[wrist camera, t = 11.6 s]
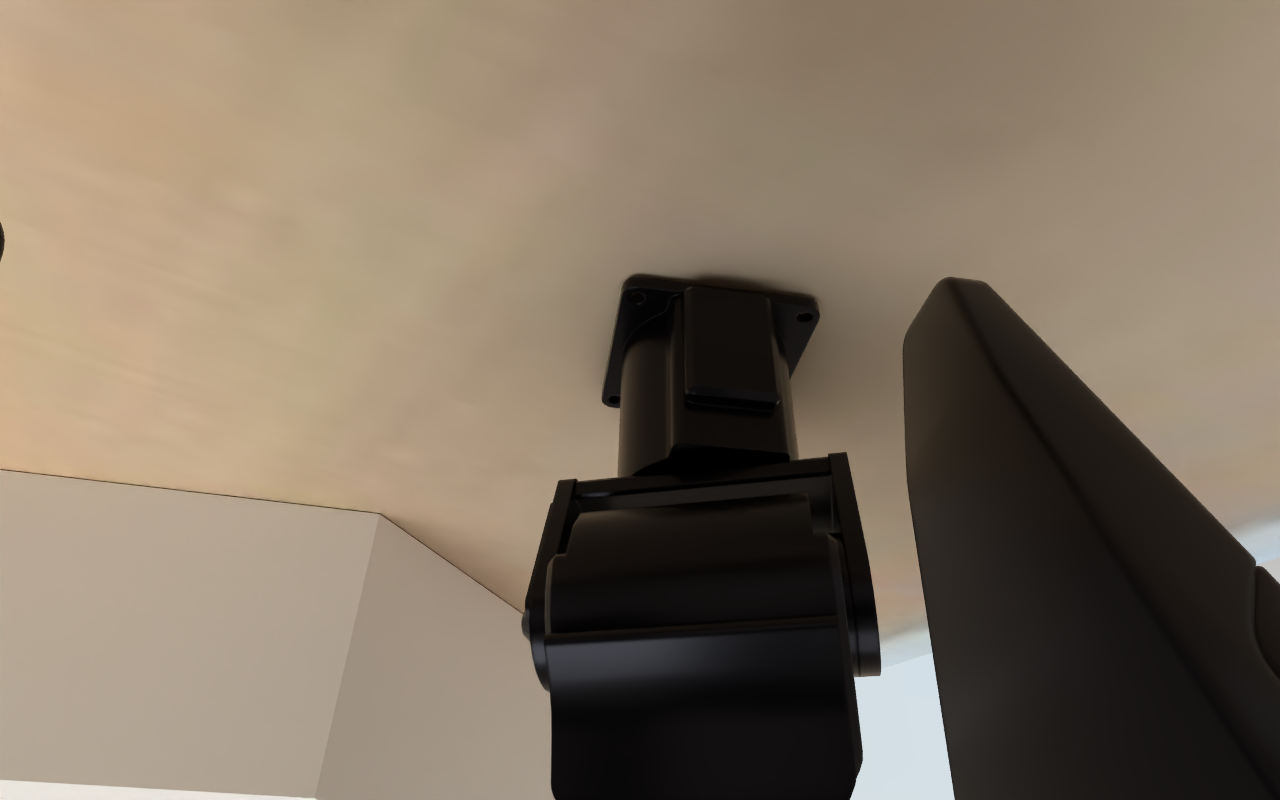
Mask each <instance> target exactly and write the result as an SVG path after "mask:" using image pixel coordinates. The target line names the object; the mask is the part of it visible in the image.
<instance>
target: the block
mask: <svg viewBox="0 0 1280 800" xmlns="http://www.w3.org/2000/svg"><path fill="white" fill-rule="evenodd" d="M522 616H523V614H522V613H520V612H519V611H517V610H516V609H514V608H513V607H512V606H510V605H509V604H507V603H506V602H504V601H503V600H502V599H500V598H499V597H497V596H496V595H494V594H493V593H492V592H490V591H489V590H487V589H486V588H484V587H483V586H482V585H480V584H479V583H477V582H476V581H475V580H473V579H472V578H470V577H469V576H467V575H466V574H465V573H463V572H462V571H460V570H459V569H457V568H456V567H455V566H453V565H452V564H450V563H449V562H447V561H446V560H445V559H443V558H442V557H440V556H439V555H437V554H436V553H435V552H433V551H432V550H430V549H429V548H427V547H426V546H425V545H423V544H422V543H420V542H419V541H417V540H416V539H415V538H413V537H412V536H410V535H409V534H407V533H406V532H405V531H403V530H402V529H400V528H399V527H397V526H396V525H395V524H393V523H392V522H390V521H389V520H387V519H386V518H385V517H383V516H382V515H380V514H376V513H367V512H358V511H350V510H341V509H333V508H324V507H315V506H307V505H298V504H289V503H281V502H272V501H264V500H255V499H246V498H238V497H229V496H220V495H212V494H203V493H195V492H186V491H177V490H169V489H160V488H152V487H143V486H134V485H126V484H117V483H108V482H100V481H91V480H83V479H74V478H65V477H57V476H48V475H39V474H31V473H22V472H14V471H5V470H0V800H555V798H554V796H553V794H552V790H551V703H550V693H549V692H548V691H546V690H545V689H544V688H543V686H542V685H541V683H540V681H539V679H538V676H537V674H536V671H535V667H534V662H533V658H532V652H531V645H530V641H529V640H528V639H527V638H526V637H525V636H524V635H523V633H522V627H521V621H522Z"/></svg>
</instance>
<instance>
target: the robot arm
mask: <svg viewBox="0 0 1280 800" xmlns="http://www.w3.org/2000/svg"><path fill="white" fill-rule="evenodd" d="M4 241H5V239H4V231H3V228H2V225H1V223H0V261H1V258H2V255H3V250H4ZM635 292H639V293H642V294H633V293H635ZM802 312H807V313H804V314H800V313H802ZM819 317H820V312H819V306H818V304H817V302H816V301H815V300H813V299H810V298H804V297H796V296H787V295H779V294H771V293H762V292H754V291H745V290H737V289H729V288H720V287H712V286H704V285H695V284H687V283H678V282H670V281H662V280H653V279H645V278H632V279H629V280H627V281H626V282H624V284H623V286H622V289H621V294H620V299H619V305H618V310H617V315H616V320H615V326H614V331H613V336H612V341H611V346H610V352H609V357H608V362H607V367H606V373H605V378H604V383H603V388H602V402H603V403H604V404H605V405H607V406H609V407H613V408H620V425H619V453H618V477H617V478H607V479H597V480H587V481H578V480H577V479H568V480H559V481H558V485H557V488H556V492H555V496H554V500H553V503H551V505H550V508H549V512H548V515H547V519H546V523H545V527H544V531H543V534H542V538H541V542H540V546H539V550H538V553H537V557H536V561H535V565H534V569H533V573H532V576H531V580H530V584H529V588H528V592H527V595H526V600H525V612H524V614H523V616H522V621H521V627H522V633H523V635H524V636H525V637H526V638H527V639H528V640H529V641H530V645H531V652H532V658H533V662H534V667H535V671H536V674H537V676H538V679H539V681H540V683H541V685H542V686H543V688H544V689H545V690H546V691H548V692H549V693H550V703H551V790H552V794H553V796H554V798H555V800H850V798H851V795H852V792H853V789H854V787H855V783H856V778H857V775H858V773H859V771H860V768H861V764H862V761H863V756H862V755H863V750H862V741H861V733H860V724H859V716H858V707H857V699H856V690H855V682H854V677H858V676H859V677H866V676H880V674H881V655H880V642H879V632H878V623H877V614H876V606H875V598H874V591H873V585H872V578H871V572H870V566H869V560H868V555H867V550H866V545H865V540H864V535H863V530H862V525H861V520H860V516H859V511H858V506H857V501H856V496H855V491H854V486H853V481H852V477H851V472H850V467H849V462H848V457H847V452H842V453H831V454H828V457H822V458H811V459H801V460H799V454H798V446H797V438H796V429H795V421H794V412H793V404H792V396H791V387H790V378H791V376H792V374H793V372H794V370H795V368H796V366H797V364H798V362H799V360H800V358H801V355H802V353H803V351H804V349H805V347H806V345H807V343H808V341H809V339H810V337H811V335H812V333H813V331H814V329H815V327H816V325H817V323H818V321H819ZM903 382H904V416H905V450H906V472H907V485H908V493H909V501H910V508H911V514H912V521H913V527H914V534H915V540H916V547H917V554H918V560H919V567H920V573H921V580H922V587H923V593H924V600H925V606H926V613H927V619H928V626H929V633H930V639H931V646H932V652H933V659H934V665H935V672H936V679H937V685H938V692H939V698H940V705H941V712H942V718H943V725H944V731H945V738H946V744H947V751H948V758H949V764H950V771H951V777H952V783H953V790H954V797H955V800H1280V584H1279V583H1278V582H1277V581H1276V580H1275V579H1274V578H1273V577H1272V576H1271V575H1270V574H1269V572H1268V571H1267V570H1266V569H1265V568H1263V567H1261V566H1256V561H1255V559H1254V557H1253V556H1252V555H1251V554H1250V553H1249V552H1248V551H1247V550H1246V549H1245V548H1244V547H1243V546H1242V545H1241V544H1240V543H1239V542H1238V541H1237V540H1236V539H1235V538H1234V537H1233V536H1232V535H1231V534H1230V533H1229V532H1228V531H1227V530H1226V529H1225V528H1224V526H1223V525H1222V524H1221V523H1220V522H1219V521H1218V520H1217V519H1216V518H1215V517H1214V516H1213V515H1212V514H1211V513H1210V512H1209V511H1208V510H1207V509H1206V508H1205V507H1204V506H1203V505H1202V504H1201V503H1200V502H1199V501H1198V500H1197V499H1196V498H1195V497H1194V496H1193V495H1192V494H1191V493H1190V492H1189V490H1188V489H1187V488H1186V487H1185V486H1184V485H1183V484H1182V483H1181V482H1180V481H1179V480H1178V479H1177V478H1176V477H1175V476H1174V475H1173V474H1172V473H1171V472H1170V471H1169V470H1168V469H1167V468H1166V467H1165V466H1164V465H1163V464H1162V463H1161V462H1160V461H1159V460H1158V459H1157V458H1156V457H1155V455H1154V454H1153V453H1152V452H1151V451H1150V450H1149V449H1148V448H1147V447H1146V446H1145V445H1144V444H1143V443H1142V442H1141V441H1140V440H1139V439H1138V438H1137V437H1136V436H1135V435H1134V434H1133V433H1132V432H1131V431H1130V430H1129V429H1128V428H1127V427H1126V426H1125V425H1124V424H1123V423H1122V422H1121V421H1120V419H1119V418H1118V417H1117V416H1116V415H1115V414H1114V413H1113V412H1112V411H1111V410H1110V409H1109V408H1108V407H1107V406H1106V405H1105V404H1104V403H1103V402H1102V401H1101V400H1100V399H1099V398H1098V397H1097V396H1096V395H1095V394H1094V393H1093V392H1092V391H1091V390H1090V389H1089V388H1088V387H1087V386H1086V384H1085V383H1084V382H1083V381H1082V380H1081V379H1080V378H1079V377H1078V376H1077V375H1076V374H1075V373H1074V372H1073V371H1072V370H1071V369H1070V368H1069V367H1068V366H1067V365H1066V364H1065V363H1064V362H1063V361H1062V360H1061V359H1060V358H1059V357H1058V356H1057V355H1056V354H1055V353H1054V352H1053V351H1052V350H1051V348H1050V347H1049V346H1048V345H1047V344H1046V343H1045V342H1044V341H1043V340H1042V339H1041V338H1040V337H1039V336H1038V335H1037V334H1036V333H1035V332H1034V331H1033V330H1032V329H1031V328H1030V327H1029V326H1028V325H1027V324H1026V323H1025V322H1024V321H1023V320H1022V319H1021V318H1020V317H1019V316H1018V315H1017V313H1016V312H1015V311H1014V310H1013V309H1012V308H1011V307H1010V306H1009V305H1008V304H1007V303H1006V302H1005V301H1004V300H1003V299H1002V298H1001V297H1000V296H999V295H998V294H997V293H996V292H995V291H994V290H993V289H992V288H991V287H990V286H989V285H988V284H986V283H985V282H982V281H979V280H972V279H964V278H956V277H947V278H944V279H942V280H941V281H939V282H938V283H937V284H936V286H935V287H934V288H933V290H932V292H931V293H930V295H929V296H928V298H927V300H926V301H925V303H924V304H923V306H922V308H921V309H920V311H919V312H918V314H917V316H916V317H915V319H914V320H913V322H912V324H911V325H910V327H909V329H908V331H907V333H906V336H905V339H904V344H903Z"/></svg>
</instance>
